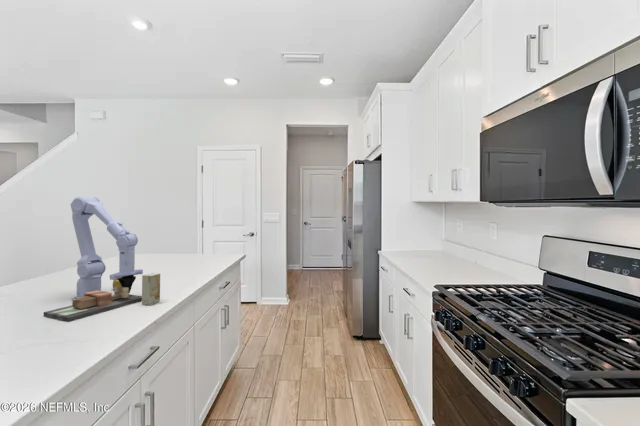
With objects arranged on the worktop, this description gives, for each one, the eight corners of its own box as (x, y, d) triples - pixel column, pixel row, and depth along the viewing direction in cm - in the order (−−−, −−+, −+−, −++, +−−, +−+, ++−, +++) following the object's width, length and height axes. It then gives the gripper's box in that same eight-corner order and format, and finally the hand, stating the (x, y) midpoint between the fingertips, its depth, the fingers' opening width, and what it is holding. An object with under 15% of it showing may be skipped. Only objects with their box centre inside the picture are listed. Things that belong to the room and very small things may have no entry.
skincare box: (150, 305, 144) (150, 275, 144) (141, 304, 145) (141, 275, 144) (160, 301, 150) (160, 273, 150) (151, 300, 151) (151, 272, 151)
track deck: (43, 316, 128) (43, 300, 128) (121, 296, 157) (122, 283, 157) (68, 321, 122) (68, 304, 122) (144, 300, 152) (144, 286, 151)
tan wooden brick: (71, 307, 133) (71, 296, 133) (118, 295, 151) (118, 286, 151) (82, 309, 131) (82, 298, 131) (128, 297, 149) (128, 287, 149)
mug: (128, 290, 169) (129, 276, 169) (112, 291, 166) (112, 277, 166) (128, 285, 180) (128, 272, 180) (112, 286, 176) (113, 272, 176)
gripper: (118, 265, 143) (117, 298, 143) (147, 260, 156) (147, 290, 156) (106, 263, 145) (106, 296, 146) (136, 259, 159) (136, 289, 159)
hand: (126, 293), depth 151 cm, fingers closed
